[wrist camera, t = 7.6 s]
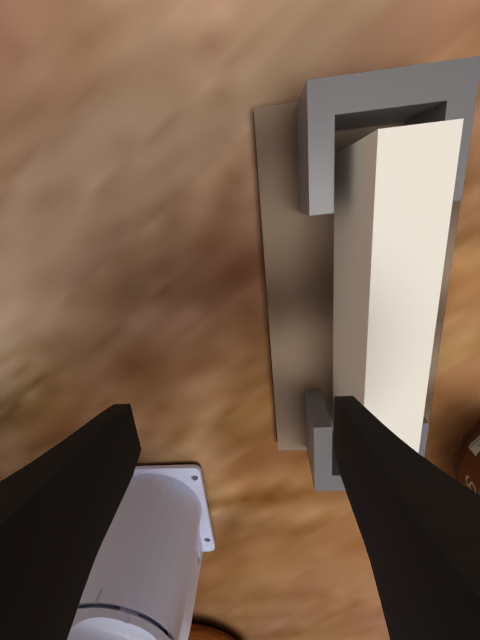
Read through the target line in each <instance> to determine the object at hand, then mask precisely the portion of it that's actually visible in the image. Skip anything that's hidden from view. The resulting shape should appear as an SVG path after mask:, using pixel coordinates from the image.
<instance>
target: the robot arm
mask: <svg viewBox="0 0 480 640" xmlns="http://www.w3.org/2000/svg"><path fill="white" fill-rule="evenodd" d="M333 446H334V451H335V455H336V460H337V464H338V468H339V472H340V475H341V478H342V481H343V484H344V487H345V490H346V493H347V496H348V498H349V501H350V504H351V507H352V510H353V512H354V515H355V518H356V521H357V524H358V526H359V529H360V532H361V535H362V538H363V540H364V543H365V546H366V550H367V553H368V556H369V559H370V562H371V566H372V570H373V574H374V578H375V581H376V585H377V589H378V593H379V597H380V600H381V604H382V608H383V612H384V616H385V620H386V624H387V628H388V632H389V636H390V640H480V495H479V494H477V493H475V492H474V491H472V490H471V489H469V488H467V487H466V486H464V485H463V484H461V483H460V482H458V481H457V480H455V479H454V478H452V477H451V476H449V475H448V474H446V473H445V472H444V471H442V470H441V469H439V468H438V467H436V466H435V465H433V464H432V463H431V462H429V461H428V460H427V459H425V458H424V457H423V456H421V455H420V454H419V453H418V452H416V451H415V450H414V449H412V448H411V447H410V446H409V445H407V444H406V443H405V442H404V441H402V440H401V439H400V438H399V437H398V436H396V435H395V434H394V433H393V432H392V431H391V430H390V429H388V428H387V427H386V426H385V425H384V424H383V423H382V422H381V421H379V420H378V419H377V418H376V417H375V416H374V415H373V414H372V413H371V412H370V411H369V410H368V409H367V408H366V407H364V406H363V405H362V404H361V403H360V402H359V401H358V400H357V399H356V398H355V397H354V396H334V429H333ZM140 451H141V446H140V442H139V438H138V434H137V430H136V426H135V422H134V418H133V414H132V410H131V406H130V404H114V405H112V406H111V407H109V408H107V409H106V410H105V411H103V412H102V413H100V414H99V415H97V416H96V417H95V418H93V419H92V420H91V421H89V422H88V423H87V424H85V425H84V426H82V427H81V428H80V429H78V430H77V431H76V432H74V433H73V434H71V435H70V436H69V437H67V438H66V439H65V440H63V441H62V442H60V443H59V444H58V445H56V446H55V447H53V448H52V449H50V450H49V451H47V452H46V453H44V454H43V455H41V456H40V457H38V458H37V459H36V460H34V461H33V462H31V463H30V464H28V465H27V466H25V467H23V468H22V469H20V470H19V471H17V472H15V473H14V474H12V475H11V476H9V477H7V478H5V479H4V480H2V481H0V640H188V637H189V633H190V628H191V622H192V616H193V610H194V604H195V597H196V591H197V585H198V579H199V573H200V566H201V560H202V554H203V551H213V550H214V549H215V540H214V535H213V530H212V525H211V519H210V514H209V509H208V504H207V498H206V493H205V488H204V483H203V477H202V472H201V468H200V467H199V466H198V465H195V464H190V465H157V466H136V465H137V461H138V458H139V455H140ZM194 475H195V476H194Z"/></svg>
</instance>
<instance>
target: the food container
mask: <svg viewBox="0 0 480 640" xmlns="http://www.w3.org/2000/svg"><path fill="white" fill-rule="evenodd" d="M454 471H455V474H456V477H457V480H458V481H459V482H460V483H461V484H463V485H464V486H466V487H467V488H469V489H471V490H472V491H474V492H475V493H477V494H479V495H480V421H479V422H478V423H477V424H476V425H475V426H474V427H473V428H472V429H471V430H470V431H469V432H468V433H467V434H466V435H465V436H464V438H463V440H462V441H461V443H460V445H459V447H458V449H457V451H456V453H455V460H454Z"/></svg>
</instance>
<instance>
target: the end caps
mask: <svg viewBox="0 0 480 640" xmlns="http://www.w3.org/2000/svg"><path fill="white" fill-rule="evenodd" d="M479 76H480V56H475V57H468V58H461V59H454V60H447V61H440V62H432V63H425V64H418V65H411V66H404V67H397V68H390V69H383V70H376V71H368V72H361V73H354V74H347V75H340V76H333V77H326V78H319V79H311V80H307V81H306V84H305V86H304V89H303V91H302V94H301V96H300V99H299V101H298V104H297V106H296V111H297V144H298V178H299V211H300V213H303V214H306V215H309V216H311V215H321V214H330V213H334V140H335V131H341V130H349V129H357V128H365V127H373V126H381V125H389V124H397V123H405V126H407V125H415V124H423V123H431V122H439V121H447V120H455V119H463V118H464V121H463V128H462V135H461V143H460V150H459V158H458V165H457V172H456V180H455V187H454V195H453V201H459V200H462V194H463V187H464V180H465V173H466V166H467V159H468V152H469V145H470V138H471V131H472V124H473V117H474V111H475V104H476V97H477V90H478V83H479ZM305 411H306V445H307V452H308V458H309V463H310V468H311V474H312V479H313V484H314V490H315V491H346V490H345V487H344V484H343V481H342V478H341V475H340V472H339V468H338V464H337V460H336V455H335V451H334V446H333V433H332V424H331V421H330V418H329V415H328V412H327V409H326V406H325V402H324V399H323V396H322V393H321V390H311V391H305ZM428 429H429V422H428V421H427V420H426V418H425V417H423V424H422V431H421V439H420V446H419V454H420V455H421V456H423V457H425V450H426V443H427V436H428Z"/></svg>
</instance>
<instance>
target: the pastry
mask: <svg viewBox="0 0 480 640" xmlns="http://www.w3.org/2000/svg"><path fill="white" fill-rule="evenodd" d="M188 640H235V639H234V638H233V637H231V636H230V635H228V634H227V633H225V632H223V631H220V630H218V629H215V628H213V627H210V626H205V625H200V624H192V623H191V628H190V633H189V637H188Z"/></svg>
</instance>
